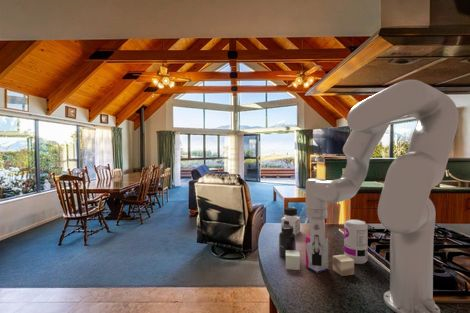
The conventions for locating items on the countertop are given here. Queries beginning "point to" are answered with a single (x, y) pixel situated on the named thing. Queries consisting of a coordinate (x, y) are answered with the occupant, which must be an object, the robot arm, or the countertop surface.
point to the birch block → (343, 265)
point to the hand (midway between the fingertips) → (316, 259)
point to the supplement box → (323, 251)
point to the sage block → (292, 260)
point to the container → (291, 219)
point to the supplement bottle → (286, 240)
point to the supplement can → (355, 240)
